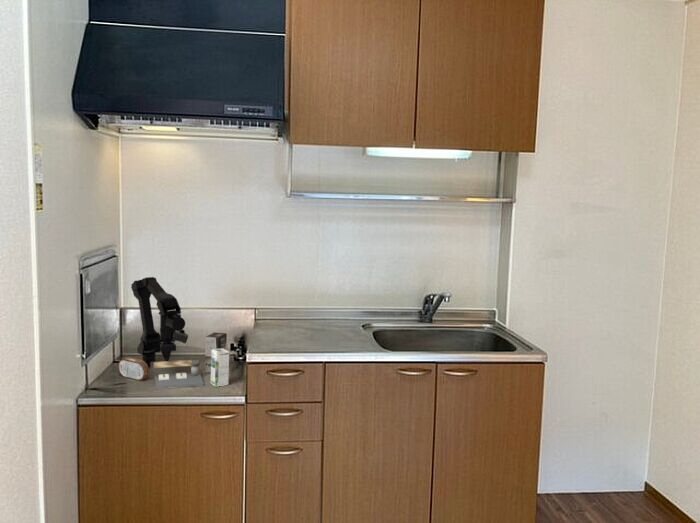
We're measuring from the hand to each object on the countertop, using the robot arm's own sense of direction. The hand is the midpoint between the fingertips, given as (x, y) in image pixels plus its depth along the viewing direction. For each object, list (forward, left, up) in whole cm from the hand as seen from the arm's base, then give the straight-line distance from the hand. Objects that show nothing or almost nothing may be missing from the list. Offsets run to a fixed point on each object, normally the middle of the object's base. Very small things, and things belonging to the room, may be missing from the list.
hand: (167, 362), depth 238 cm
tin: (0, -13, -6) cm, 15 cm away
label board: (+10, +4, -6) cm, 12 cm away
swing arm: (+5, +3, 0) cm, 6 cm away
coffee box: (-4, +21, -6) cm, 22 cm away
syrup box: (+16, +20, -6) cm, 26 cm away
